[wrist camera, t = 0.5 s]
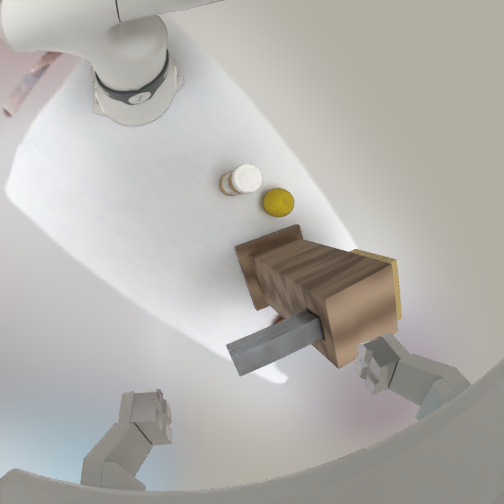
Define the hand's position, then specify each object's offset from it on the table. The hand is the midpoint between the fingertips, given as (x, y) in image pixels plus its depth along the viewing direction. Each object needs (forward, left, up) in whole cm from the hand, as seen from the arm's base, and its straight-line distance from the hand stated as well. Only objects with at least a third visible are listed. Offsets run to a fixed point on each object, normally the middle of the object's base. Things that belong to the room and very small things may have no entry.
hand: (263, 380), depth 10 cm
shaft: (+11, +12, -21) cm, 27 cm away
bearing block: (+11, +15, -45) cm, 49 cm away
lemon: (-2, +18, -45) cm, 49 cm away
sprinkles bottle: (-8, +11, -45) cm, 47 cm away
